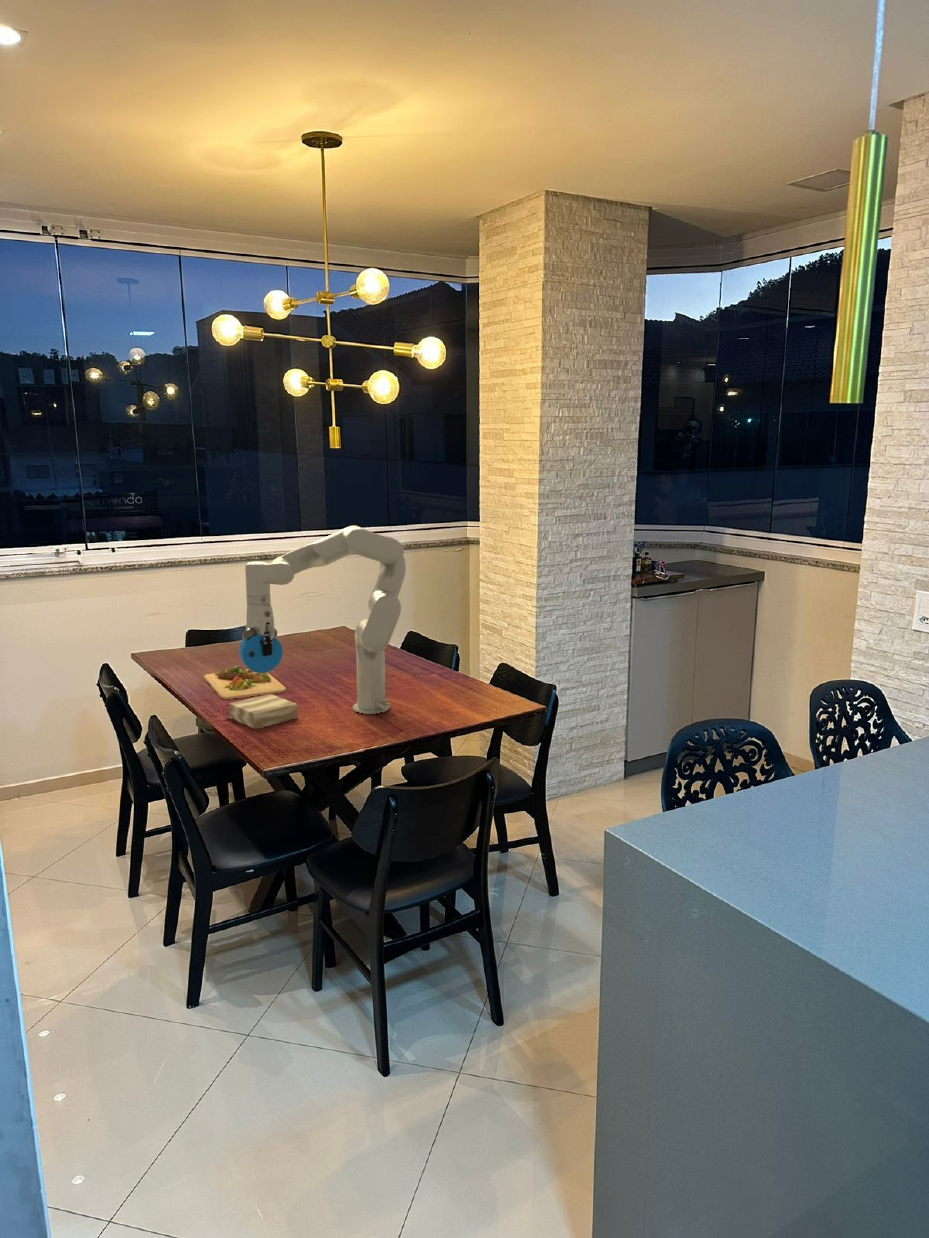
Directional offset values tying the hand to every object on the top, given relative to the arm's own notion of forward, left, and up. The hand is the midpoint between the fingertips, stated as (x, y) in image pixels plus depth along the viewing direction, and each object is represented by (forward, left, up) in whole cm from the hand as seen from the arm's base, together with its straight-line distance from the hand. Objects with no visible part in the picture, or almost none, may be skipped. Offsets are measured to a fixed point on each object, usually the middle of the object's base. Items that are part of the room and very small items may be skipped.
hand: (260, 652), depth 279 cm
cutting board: (+41, -17, -23) cm, 50 cm away
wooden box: (0, 0, -22) cm, 22 cm away
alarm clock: (0, 0, -7) cm, 7 cm away
